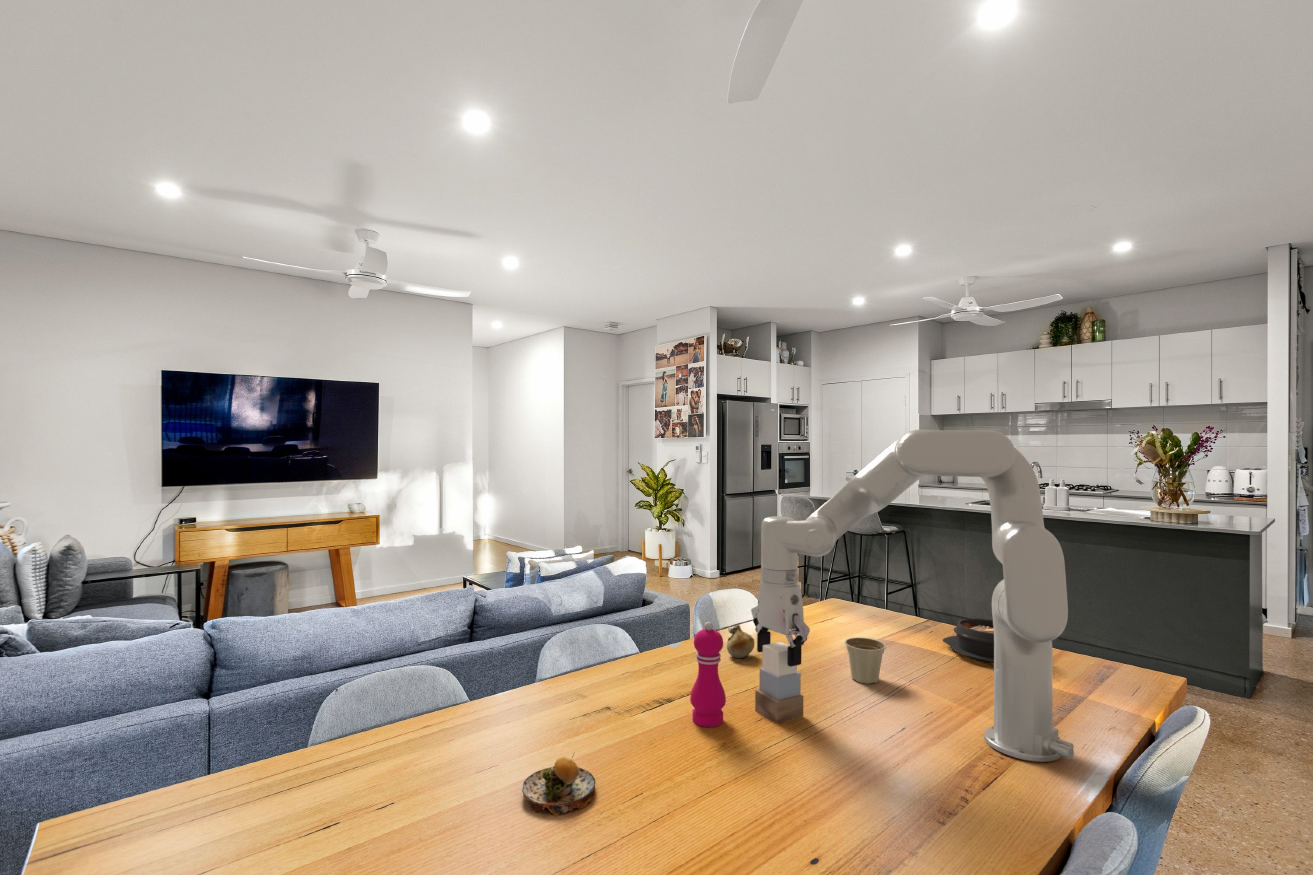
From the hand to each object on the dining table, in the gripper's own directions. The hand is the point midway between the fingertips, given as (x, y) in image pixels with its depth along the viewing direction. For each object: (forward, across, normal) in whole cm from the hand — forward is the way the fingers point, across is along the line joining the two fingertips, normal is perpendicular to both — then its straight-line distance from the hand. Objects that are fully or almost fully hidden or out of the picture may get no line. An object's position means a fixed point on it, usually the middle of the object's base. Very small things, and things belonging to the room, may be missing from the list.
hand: (778, 657), depth 132 cm
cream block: (+3, 0, 0) cm, 3 cm away
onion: (+12, +32, -14) cm, 37 cm away
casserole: (+12, +1, -73) cm, 74 cm away
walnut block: (+12, 0, 0) cm, 12 cm away
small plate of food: (+12, -7, +51) cm, 53 cm away
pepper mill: (+12, +4, +15) cm, 19 cm away
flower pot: (+12, +5, -31) cm, 34 cm away
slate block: (+7, 0, 0) cm, 7 cm away
